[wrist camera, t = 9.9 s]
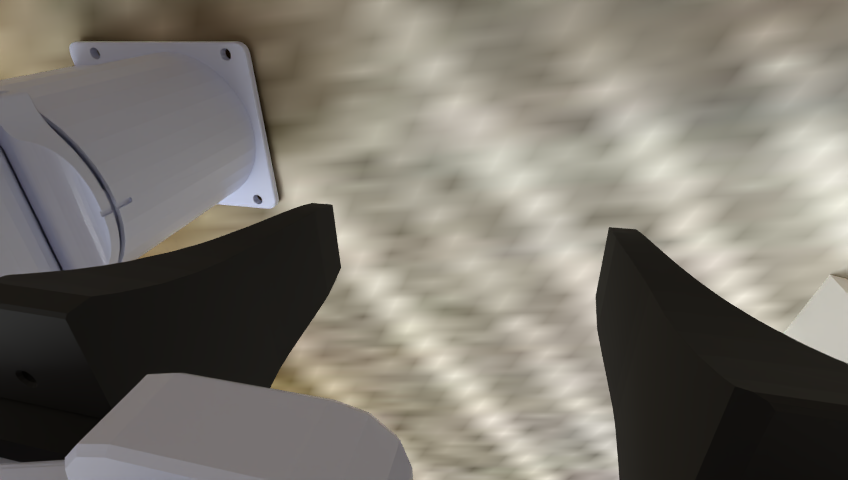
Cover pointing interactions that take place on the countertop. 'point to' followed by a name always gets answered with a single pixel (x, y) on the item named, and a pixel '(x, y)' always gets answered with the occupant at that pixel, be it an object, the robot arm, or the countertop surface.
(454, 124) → the countertop surface
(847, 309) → the milk
